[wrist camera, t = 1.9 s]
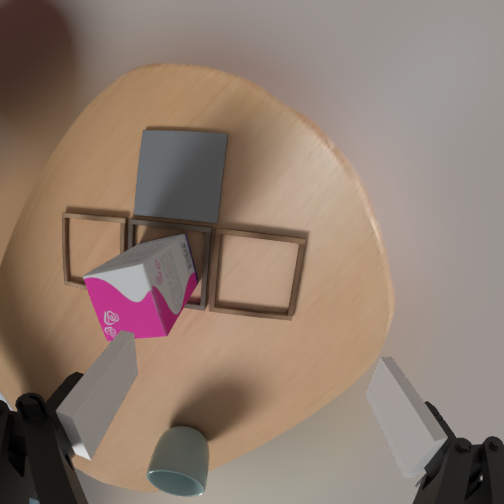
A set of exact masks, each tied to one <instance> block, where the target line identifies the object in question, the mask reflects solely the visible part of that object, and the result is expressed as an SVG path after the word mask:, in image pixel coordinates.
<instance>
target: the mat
mask: <svg viewBox="0 0 504 504" xmlns="http://www.w3.org/2000/svg"><path fill="white" fill-rule="evenodd" d="M227 139H228V134H221V133H208V132H191V131H162V130H143V135H142V142H141V149H140V157H139V165H138V174H137V184H136V196H135V209H134V215H143V216H154V217H164V218H174V219H183V220H193V221H202V222H211V223H218V214H219V205H220V196H221V187H222V179H223V170H224V162H225V154H226V147H227Z"/></svg>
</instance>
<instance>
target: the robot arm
mask: <svg viewBox="0 0 504 504" xmlns="http://www.w3.org/2000/svg"><path fill="white" fill-rule="evenodd" d="M137 375H138V370H137V360H136V349H135V336H134V333H132V332H127V331H123V330H121V331H120V332H119V333H118V335H117V336H116V337H115V338H114V339H113V341H112V342H111V343H110V344H109V345H108V346H107V348H106V349H105V350H104V351H103V352H102V354H101V355H100V356H99V357H98V358H97V360H96V361H95V362H94V363H93V364H92V366H91V367H90V368H89V369H88V371H87V372H86V373H85V374H82V373H79V372H75V373H73V374H71V375H70V376H68V377H67V378H66V379H65V380H64V382H63V383H62V384H61V385H60V386H59V387H58V390H56V391H55V392H54V393H53V394H52V396H51V397H50V398H49V399H48V400H47V402H46V403H45V401H44V399H43V398H42V397H41V396H40V395H38V394H35V393H26V394H23V395H21V396H20V397H19V398H18V399H17V400H16V405H15V406H16V408H17V412H15V411H11V410H10V409H9V407H8V405H7V404H6V403H5V402H4V401H2V400H0V504H38V503H40V504H88V502H87V499H86V497H85V495H84V492H83V490H82V488H81V485H80V482H79V480H78V477H77V475H76V472H75V469H74V466H73V463H72V460H71V459H72V458H73V457H74V456H75V454H77V455H80V456H82V457H84V458H87V459H89V460H91V459H92V457H93V455H94V453H95V451H96V449H97V448H98V446H99V444H100V442H101V440H102V438H103V436H104V434H105V433H106V431H107V429H108V427H109V425H110V423H111V421H112V420H113V418H114V416H115V414H116V412H117V411H118V409H119V407H120V405H121V403H122V402H123V400H124V398H125V396H126V394H127V393H128V391H129V389H130V387H131V386H132V384H133V382H134V380H135V378H136V377H137ZM366 398H367V400H368V402H369V404H370V406H371V408H372V410H373V412H374V414H375V416H376V418H377V420H378V423H379V425H380V427H381V429H382V431H383V433H384V435H385V438H386V440H387V442H388V444H389V446H390V448H391V451H392V453H393V455H394V457H395V459H396V461H397V464H398V466H399V468H400V471H401V473H402V475H403V477H404V479H408V478H411V477H415V476H418V475H419V473H420V472H421V471H422V470H423V469H425V471H426V474H425V475H424V476H423V477H422V478H421V479H420V481H419V482H418V483H417V484H416V487H417V486H418V485H419V484H420V483H421V484H420V487H419V490H418V492H417V495H416V497H415V499H414V502H413V504H504V445H503V442H502V441H501V440H500V439H499V438H497V437H494V436H491V437H488V438H486V440H485V441H484V442H483V444H480V445H472V444H471V442H469V441H468V440H467V439H465V438H456V436H455V435H454V433H453V432H452V430H451V429H450V428H449V426H448V425H447V423H446V422H445V421H444V420H443V418H442V416H441V415H439V412H438V411H437V409H436V408H435V407H434V406H433V405H432V404H430V403H429V402H428V401H427V402H424V401H423V400H422V398H421V397H420V396H419V394H418V393H417V391H416V390H415V389H414V387H413V386H412V384H411V383H410V381H409V380H408V379H407V377H406V376H405V374H404V373H403V372H402V370H401V369H400V368H399V366H398V365H397V364H396V362H395V361H394V359H393V358H392V357H381V358H380V360H379V362H378V365H377V368H376V370H375V373H374V375H373V378H372V380H371V383H370V385H369V387H368V390H367V392H366ZM481 476H483V480H482V481H481V480H480V477H481Z"/></svg>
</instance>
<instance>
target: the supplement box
mask: <svg viewBox="0 0 504 504" xmlns="http://www.w3.org/2000/svg"><path fill="white" fill-rule="evenodd" d="M83 278H84V281H85V284H86V287H87V290H88V293H89V296H90V298H91V301H92V304H93V307H94V309H95V312H96V314H97V317H98V320H99V322H100V325H101V327H102V330H103V332H104V334H105V337H106V339H107V341H113V339H114V338H115V337H116V336H117V335H118V333H119V332H120V331H121V330H123V331H127V332H132V333H134V336H135V339H136V338H150V337H163V336H168V334H169V332H170V330H171V329H172V327H173V325H174V323H175V321H176V320H177V318H178V316H179V315H180V313H181V311H182V310H183V308H184V306H185V304H186V303H187V301H188V299H189V298H190V296H191V294H192V293H193V291H194V289H195V288H196V286H197V284H198V279H197V275H196V271H195V266H194V263H193V259H192V255H191V251H190V247H189V243H188V239H187V235H186V233H184V234H179V235H175V236H170V237H165V238H160V239H156V240H152V241H147V242H142V243H139V244H137V245H136V246H134V247H132V248H130V249H129V250H127V251H125V252H123V253H121V254H120V255H118V256H116V257H114V258H113V259H111V260H109V261H107V262H106V263H104V264H102V265H100V266H99V267H97V268H95V269H93V270H92V271H90V272H88V273H87V274H85V275H84V276H83Z"/></svg>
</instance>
